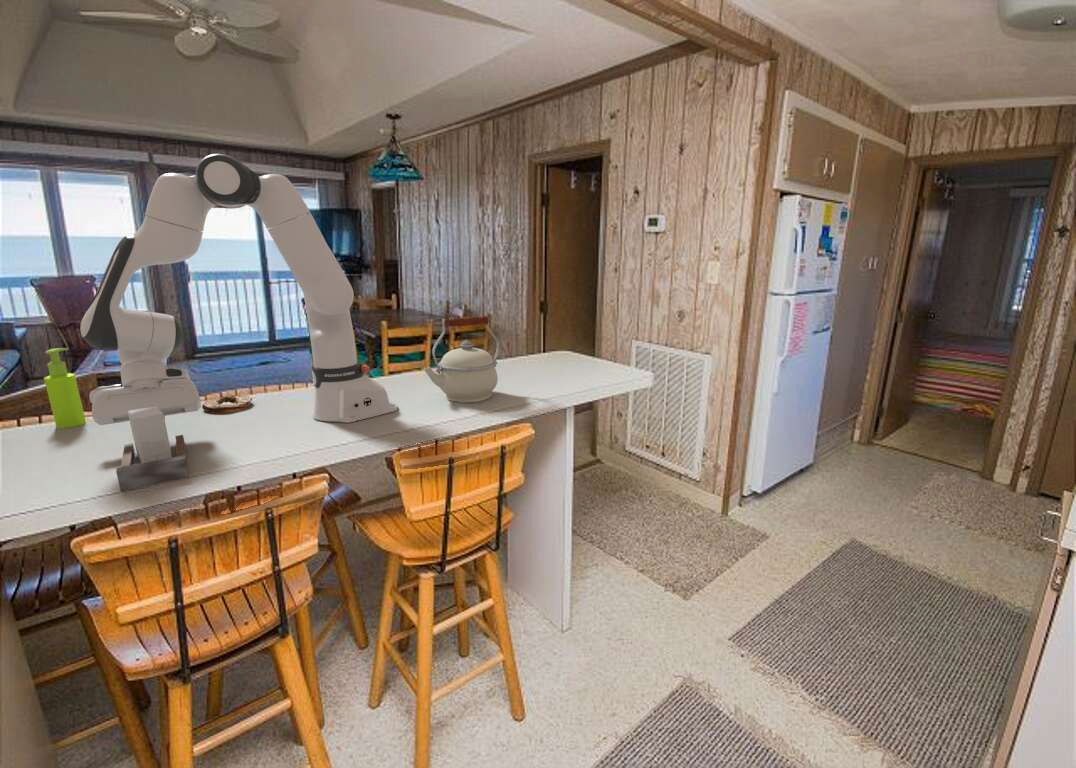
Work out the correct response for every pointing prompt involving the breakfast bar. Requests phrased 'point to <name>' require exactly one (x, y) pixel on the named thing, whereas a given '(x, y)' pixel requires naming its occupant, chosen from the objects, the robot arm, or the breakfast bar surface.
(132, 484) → the guide channel
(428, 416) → the breakfast bar surface
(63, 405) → the soap dispenser
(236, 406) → the brown speckled ring
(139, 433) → the small box
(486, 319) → the kettle
